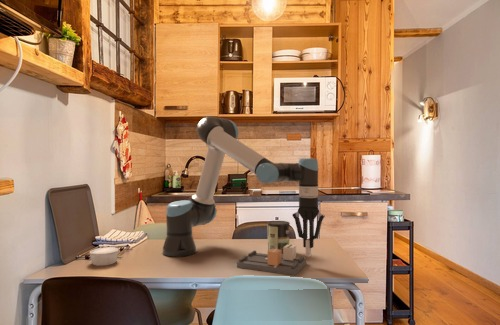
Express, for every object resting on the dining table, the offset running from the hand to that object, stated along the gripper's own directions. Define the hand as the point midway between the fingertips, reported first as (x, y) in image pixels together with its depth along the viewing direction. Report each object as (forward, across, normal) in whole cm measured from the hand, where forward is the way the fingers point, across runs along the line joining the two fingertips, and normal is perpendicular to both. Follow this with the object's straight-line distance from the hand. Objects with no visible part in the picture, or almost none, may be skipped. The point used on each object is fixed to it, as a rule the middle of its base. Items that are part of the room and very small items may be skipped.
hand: (308, 255), depth 137 cm
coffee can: (+5, -18, +14) cm, 23 cm away
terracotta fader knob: (+2, -11, -9) cm, 14 cm away
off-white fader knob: (+2, -8, 0) cm, 8 cm away
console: (+4, -14, -4) cm, 15 cm away
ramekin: (+5, -79, -30) cm, 84 cm away
